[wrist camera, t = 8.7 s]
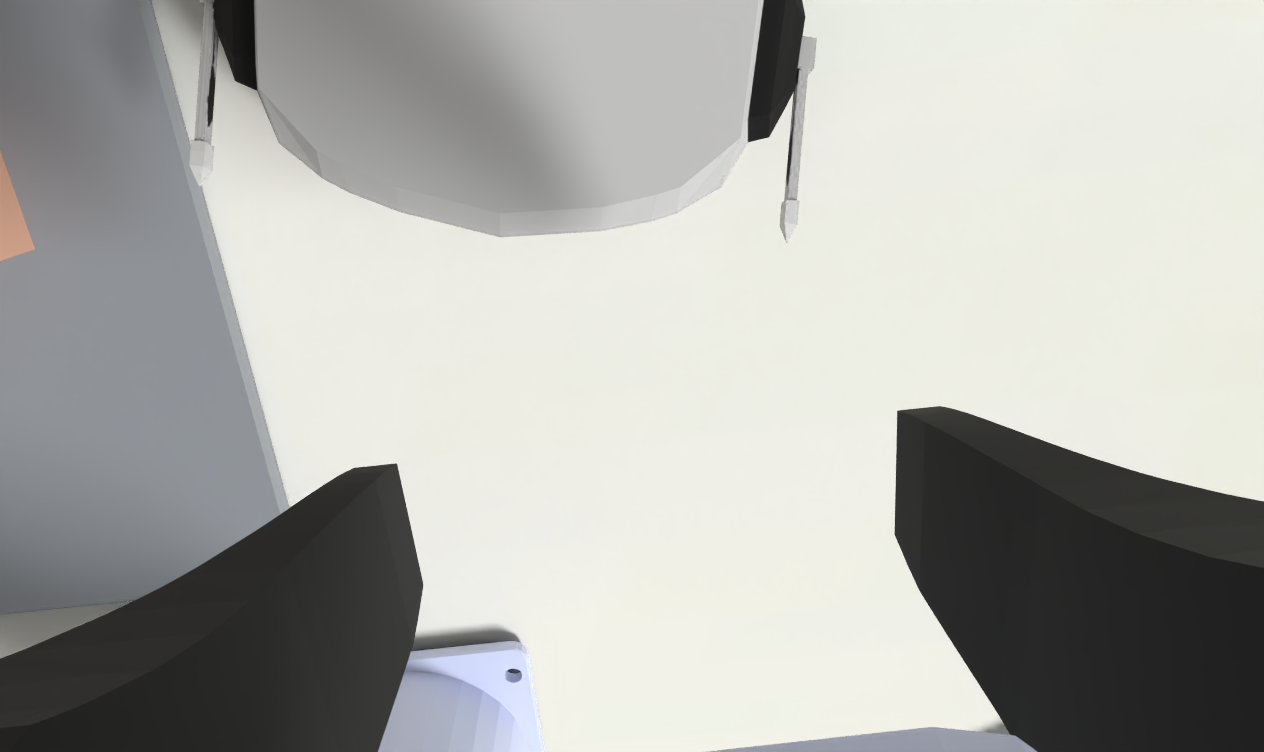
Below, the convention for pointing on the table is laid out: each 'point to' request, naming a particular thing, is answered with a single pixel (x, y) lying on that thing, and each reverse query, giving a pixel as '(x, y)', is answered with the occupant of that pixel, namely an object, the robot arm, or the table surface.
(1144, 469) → the table surface
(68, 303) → the baseplate
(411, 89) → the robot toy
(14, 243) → the base brick
